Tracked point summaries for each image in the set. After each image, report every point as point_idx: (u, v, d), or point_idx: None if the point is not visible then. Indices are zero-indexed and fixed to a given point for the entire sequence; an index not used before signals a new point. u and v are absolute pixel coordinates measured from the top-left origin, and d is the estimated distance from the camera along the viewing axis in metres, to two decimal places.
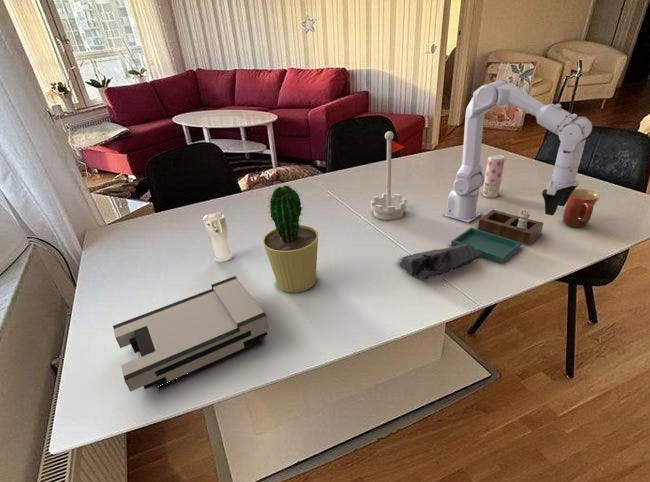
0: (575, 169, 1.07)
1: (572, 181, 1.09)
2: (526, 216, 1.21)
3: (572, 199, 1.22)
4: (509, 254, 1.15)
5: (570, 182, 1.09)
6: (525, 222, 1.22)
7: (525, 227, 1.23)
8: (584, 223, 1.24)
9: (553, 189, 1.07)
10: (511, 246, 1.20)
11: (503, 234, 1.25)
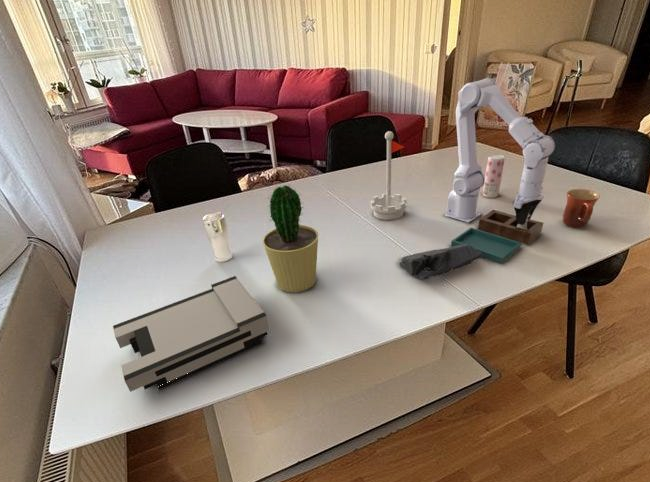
0: (539, 184, 1.14)
1: (537, 195, 1.16)
2: None
3: (572, 199, 1.22)
4: (509, 254, 1.15)
5: (535, 196, 1.16)
6: (525, 222, 1.22)
7: (525, 227, 1.23)
8: (584, 223, 1.24)
9: (519, 203, 1.14)
10: (511, 246, 1.20)
11: (503, 234, 1.25)
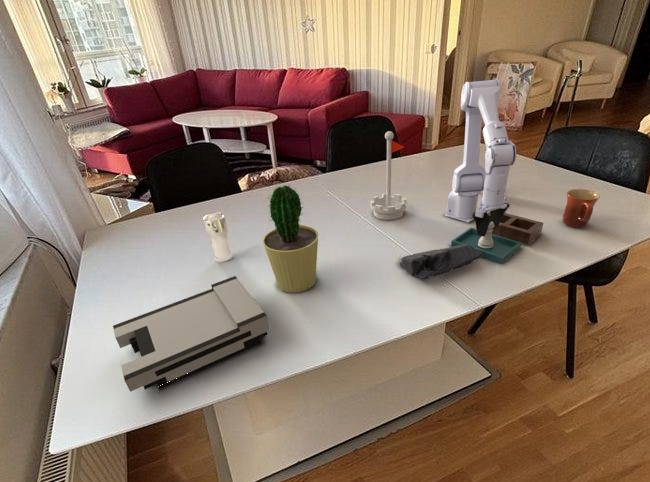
0: (502, 192, 1.09)
1: (500, 204, 1.11)
2: (490, 227, 1.16)
3: (572, 199, 1.22)
4: (509, 254, 1.15)
5: (498, 205, 1.11)
6: (489, 233, 1.18)
7: (490, 238, 1.19)
8: (584, 223, 1.24)
9: (480, 212, 1.10)
10: (511, 246, 1.20)
11: (503, 234, 1.25)
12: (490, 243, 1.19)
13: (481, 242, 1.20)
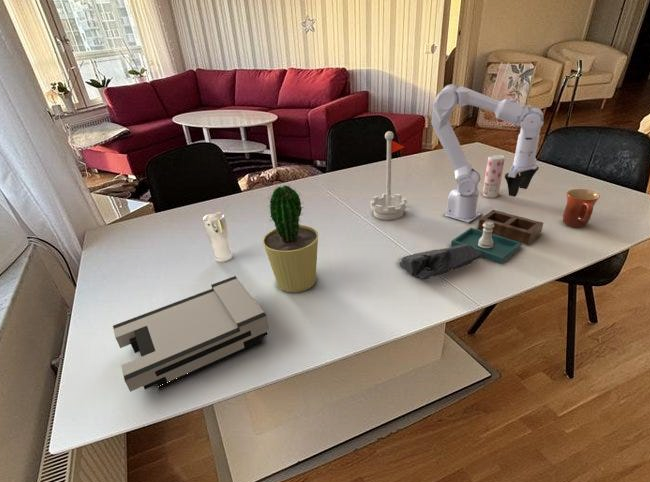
0: (533, 154, 1.19)
1: (531, 165, 1.21)
2: (490, 226, 1.16)
3: (572, 199, 1.22)
4: (509, 254, 1.15)
5: (529, 166, 1.21)
6: (489, 233, 1.18)
7: (490, 238, 1.19)
8: (584, 223, 1.24)
9: (513, 172, 1.19)
10: (511, 246, 1.20)
11: (503, 234, 1.25)
12: (490, 243, 1.19)
13: (481, 242, 1.20)
